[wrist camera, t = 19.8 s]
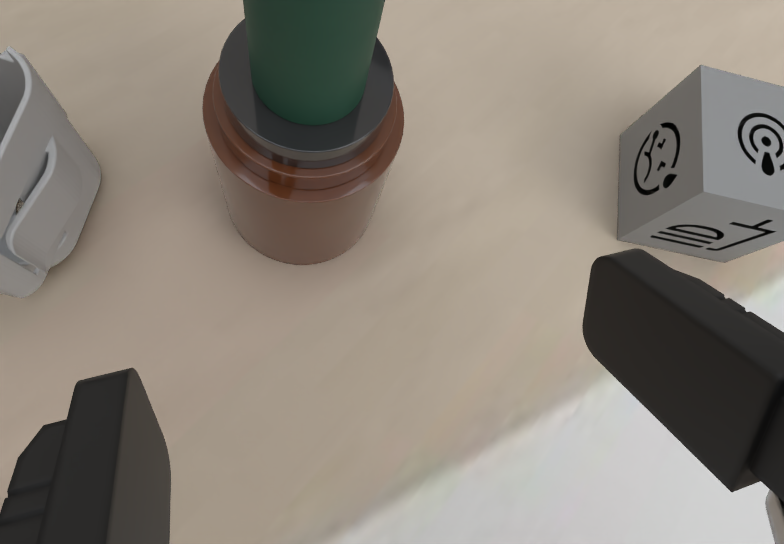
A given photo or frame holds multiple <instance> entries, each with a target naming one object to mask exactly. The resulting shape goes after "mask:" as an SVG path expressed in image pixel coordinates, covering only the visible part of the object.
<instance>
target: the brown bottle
mask: <svg viewBox="0 0 784 544" xmlns="http://www.w3.org/2000/svg"><path fill="white" fill-rule="evenodd" d="M203 120H204V125H205V129H206V133H207V137H208V140H209V144H210V147H211V151H212V154H213V158H214V161H215V165H216V168H217V172H218V175H219V179H220V182H221V186H222V189H223V193H224V196H225V200H226V203H227V207H228V210H229V214H230V217H231V219H232V222H233V224H234V225H235V227H236V229H237V231H238V232H239V233H240V235H241V236H242V237H243V239H244V240H245V241H246V242H247V243H248V244H249V245H250V246H252V247H253V248H254V249H256V250H257V251H258V252H260V253H262V254H263V255H265V256H267V257H269V258H272V259H274V260H277V261H280V262H284V263H289V264H296V265H308V264H317V263H321V262H325V261H328V260H330V259H333V258H335V257H337V256H339V255H341V254H343V253H344V252H346V251H347V250H348V249H350V248H351V247H352V246H353V245H354V244H355V243H356V242H357V241H358V240H359V239H360V237H361V236H362V235H363V233H364V231H365V230H366V228H367V226H368V224H369V221H370V219H371V216H372V214H373V211H374V209H375V206H376V204H377V201H378V199H379V196H380V194H381V191H382V189H383V186H384V184H385V181H386V179H387V176H388V174H389V171H390V169H391V166H392V164H393V161H394V159H395V156H396V154H397V151H398V149H399V146H400V143H401V139H402V135H403V128H404V111H403V106H402V100H401V97H400V94H399V91H398V89H397V86H396V84H395V82H394V76H393V71H392V66H391V63H390V60H389V57H388V55H387V53H386V51H385V49H384V47H383V46H382V44H381V43H380V41H379V40H378V38H377V37H376V42H375V46H374V51H373V55H372V59H371V64H370V68H369V72H368V77H367V81H366V86H365V90H364V93H363V96H362V98H361V100H360V102H359V103H358V105H357V106H356V107H355V108H354V109H353V110H352V111H351V112H350V113H349V114H348V115H346V116H345V117H343V118H341V119H339V120H337V121H335V122H332V123H328V124H323V125H303V124H297V123H294V122H291V121H288V120H286V119H284V118H282V117H280V116H278V115H277V114H275V113H274V112H273V111H271V110H270V109H269V108H268V107H267V106H266V105H265V104H264V103H263V102H262V101H261V99H260V98H259V96H258V95H257V93H256V91H255V88H254V86H253V82H252V78H251V68H250V59H249V50H248V41H247V32H246V22H245V19H244V20H242V21H241V22H240V23H239V24H238V25H237V26H236V27H235V28H234V30H233V31H232V32H231V33H230V35H229V37H228V38H227V40H226V42H225V44H224V46H223V49H222V51H221V55H220V60H219V62H218V63H217V64H216V66H215V67H214V69H213V71H212V73H211V74H210V77H209V79H208V82H207V84H206V88H205V92H204V96H203Z"/></svg>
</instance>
